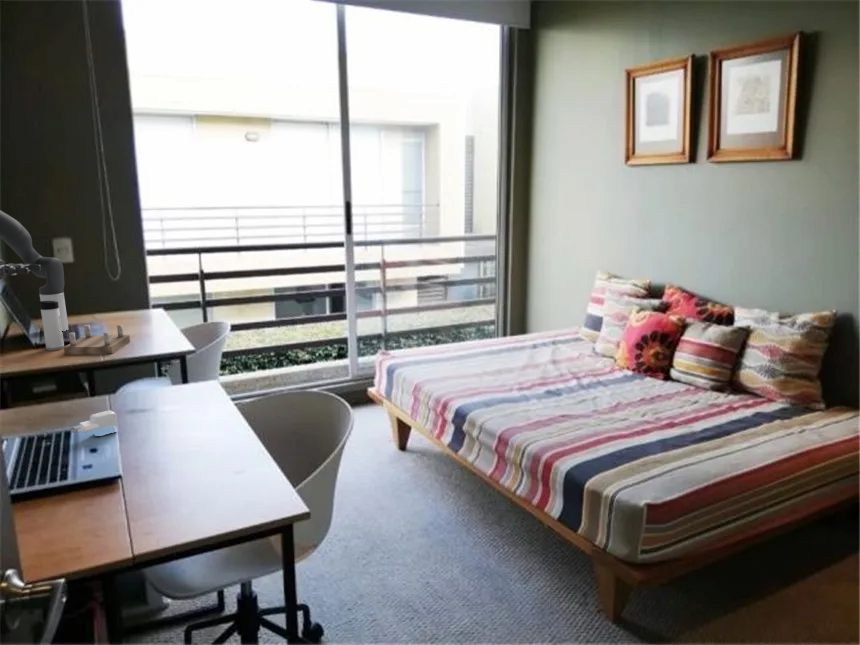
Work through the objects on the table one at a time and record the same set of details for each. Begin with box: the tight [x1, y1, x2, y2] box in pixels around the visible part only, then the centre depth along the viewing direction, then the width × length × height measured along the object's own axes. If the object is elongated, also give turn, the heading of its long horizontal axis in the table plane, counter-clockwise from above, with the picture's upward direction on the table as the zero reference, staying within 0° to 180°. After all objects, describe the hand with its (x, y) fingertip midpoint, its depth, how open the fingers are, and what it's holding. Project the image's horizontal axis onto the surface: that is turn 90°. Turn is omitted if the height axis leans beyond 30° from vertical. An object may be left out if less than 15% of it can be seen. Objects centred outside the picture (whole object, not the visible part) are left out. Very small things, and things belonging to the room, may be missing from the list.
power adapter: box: [68, 409, 119, 434], centre depth 166 cm, size 11×5×6 cm, turn 137°
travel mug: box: [38, 300, 65, 352], centre depth 248 cm, size 6×7×20 cm
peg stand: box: [63, 324, 131, 356], centre depth 251 cm, size 18×18×8 cm
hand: (34, 269), depth 232 cm, fingers open, 8 cm apart
